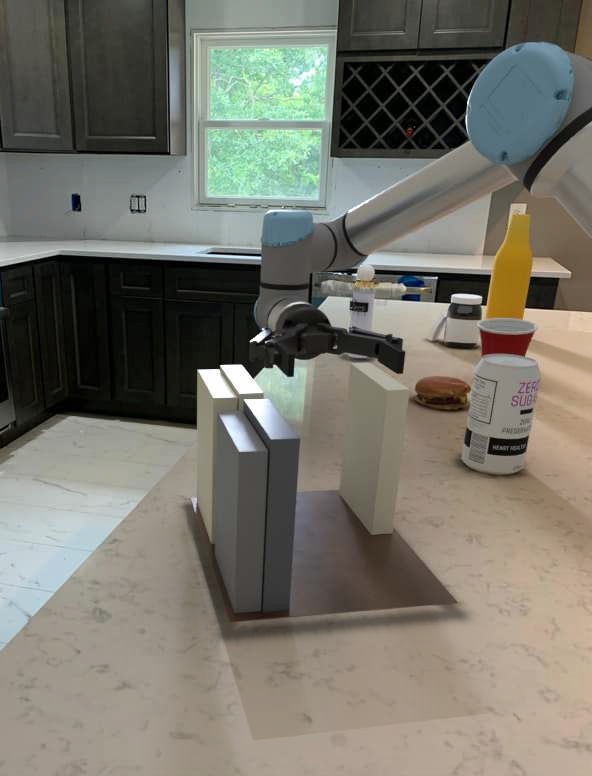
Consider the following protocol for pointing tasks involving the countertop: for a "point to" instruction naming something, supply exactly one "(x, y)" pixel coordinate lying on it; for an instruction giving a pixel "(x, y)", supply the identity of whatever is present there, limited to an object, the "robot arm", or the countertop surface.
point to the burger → (442, 392)
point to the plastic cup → (505, 336)
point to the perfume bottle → (363, 301)
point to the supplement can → (501, 413)
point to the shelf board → (342, 565)
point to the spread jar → (459, 322)
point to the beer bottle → (511, 272)
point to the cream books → (216, 396)
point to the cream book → (373, 446)
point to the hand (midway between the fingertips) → (347, 364)
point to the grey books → (256, 505)
